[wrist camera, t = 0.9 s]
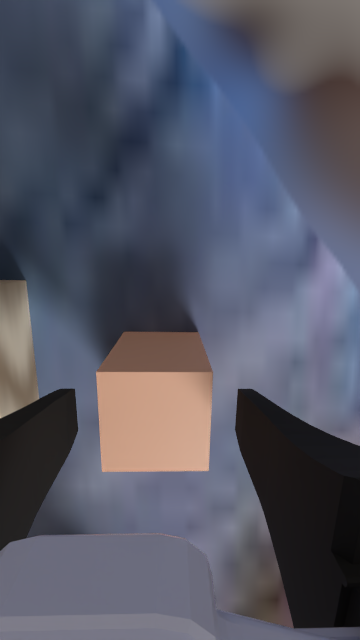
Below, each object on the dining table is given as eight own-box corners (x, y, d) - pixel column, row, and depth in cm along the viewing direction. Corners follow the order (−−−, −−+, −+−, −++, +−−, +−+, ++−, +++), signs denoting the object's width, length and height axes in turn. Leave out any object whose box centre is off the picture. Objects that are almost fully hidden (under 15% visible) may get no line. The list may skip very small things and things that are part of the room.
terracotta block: (196, 399, 17) (208, 470, 11) (126, 399, 17) (101, 471, 11) (198, 332, 16) (212, 372, 10) (124, 331, 16) (96, 372, 10)
